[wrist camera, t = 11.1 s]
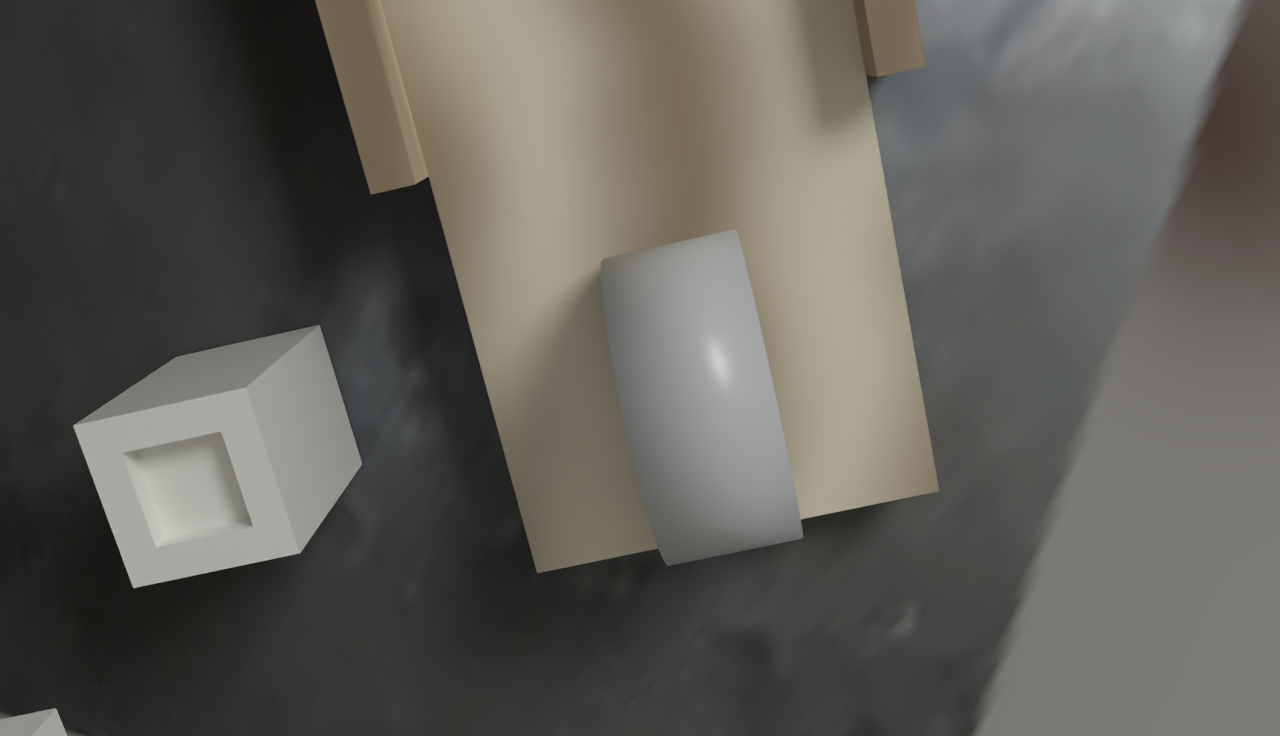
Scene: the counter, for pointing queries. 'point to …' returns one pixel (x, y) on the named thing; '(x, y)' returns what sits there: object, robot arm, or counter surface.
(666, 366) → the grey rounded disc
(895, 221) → the counter surface
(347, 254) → the counter surface
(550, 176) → the lane
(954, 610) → the counter surface
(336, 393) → the tee
